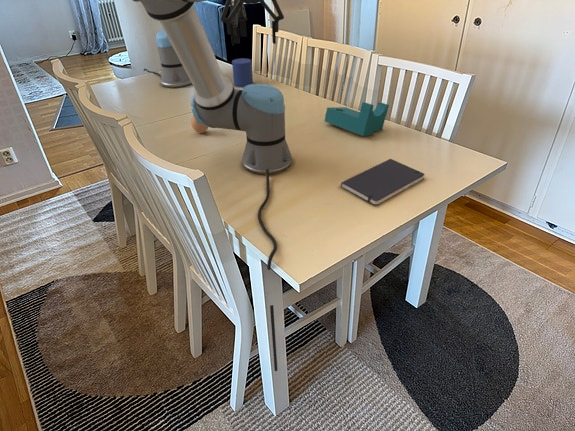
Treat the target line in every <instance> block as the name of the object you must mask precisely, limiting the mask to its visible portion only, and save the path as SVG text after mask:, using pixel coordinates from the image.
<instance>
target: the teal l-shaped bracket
mask: <svg viewBox="0 0 575 431" xmlns="http://www.w3.org/2000/svg"><path fill="white" fill-rule="evenodd" d="M360 106H361V107H360V110H359V111H358V110H355V109H352V108H349V107H344V106H343V107H341V106H340V107H337V106H336V107H326V111H325V116H324V122H325V123H328V124H330V125H333V126H336V127H339V128H341V129H344V130H346V131H349V132H351V133H354V134H357V135H359V136H362V137H366V136H373V134H374V132H378V131H379V132H380V131H383V128H384V125H385V121H386V118H387V113H388V109H389V106H390V104H387V103H384V102H381V101H380V102H377V105H376V107H375V108H374V104H372V103H369V102H364V101H363V102H362V103H361V105H360Z"/></svg>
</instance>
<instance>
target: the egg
mask: <svg viewBox="0 0 575 431" xmlns="http://www.w3.org/2000/svg"><path fill="white" fill-rule="evenodd" d="M190 122H191V127H192V129H193V131H195V132H196V133H198V134H203V133H205V132H207V130H208V129H209V127H207V126H203V125H201V124H200V123H198V122H197V120H196V119H195V117H194V115H193V114H192V116H191V120H190Z"/></svg>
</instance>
